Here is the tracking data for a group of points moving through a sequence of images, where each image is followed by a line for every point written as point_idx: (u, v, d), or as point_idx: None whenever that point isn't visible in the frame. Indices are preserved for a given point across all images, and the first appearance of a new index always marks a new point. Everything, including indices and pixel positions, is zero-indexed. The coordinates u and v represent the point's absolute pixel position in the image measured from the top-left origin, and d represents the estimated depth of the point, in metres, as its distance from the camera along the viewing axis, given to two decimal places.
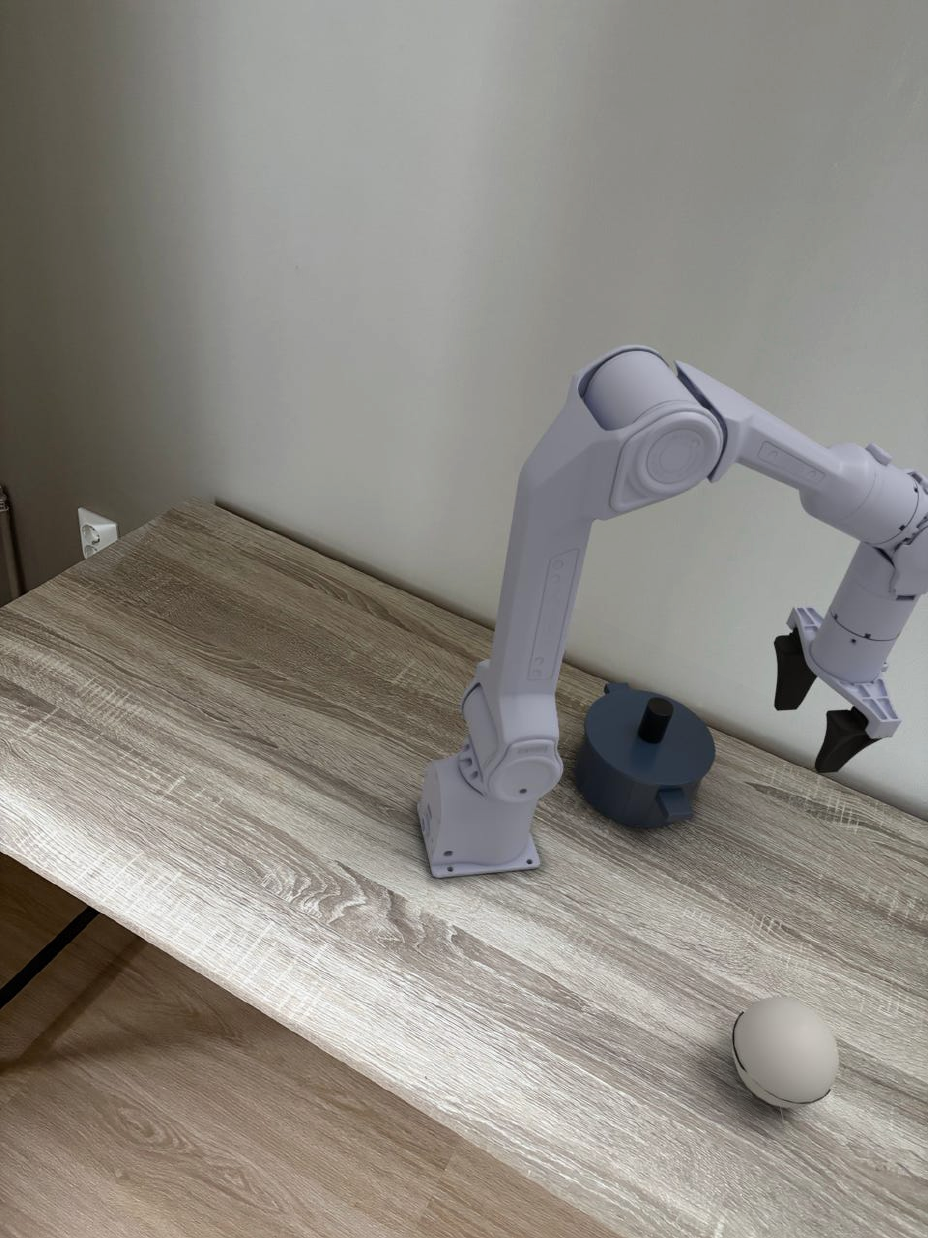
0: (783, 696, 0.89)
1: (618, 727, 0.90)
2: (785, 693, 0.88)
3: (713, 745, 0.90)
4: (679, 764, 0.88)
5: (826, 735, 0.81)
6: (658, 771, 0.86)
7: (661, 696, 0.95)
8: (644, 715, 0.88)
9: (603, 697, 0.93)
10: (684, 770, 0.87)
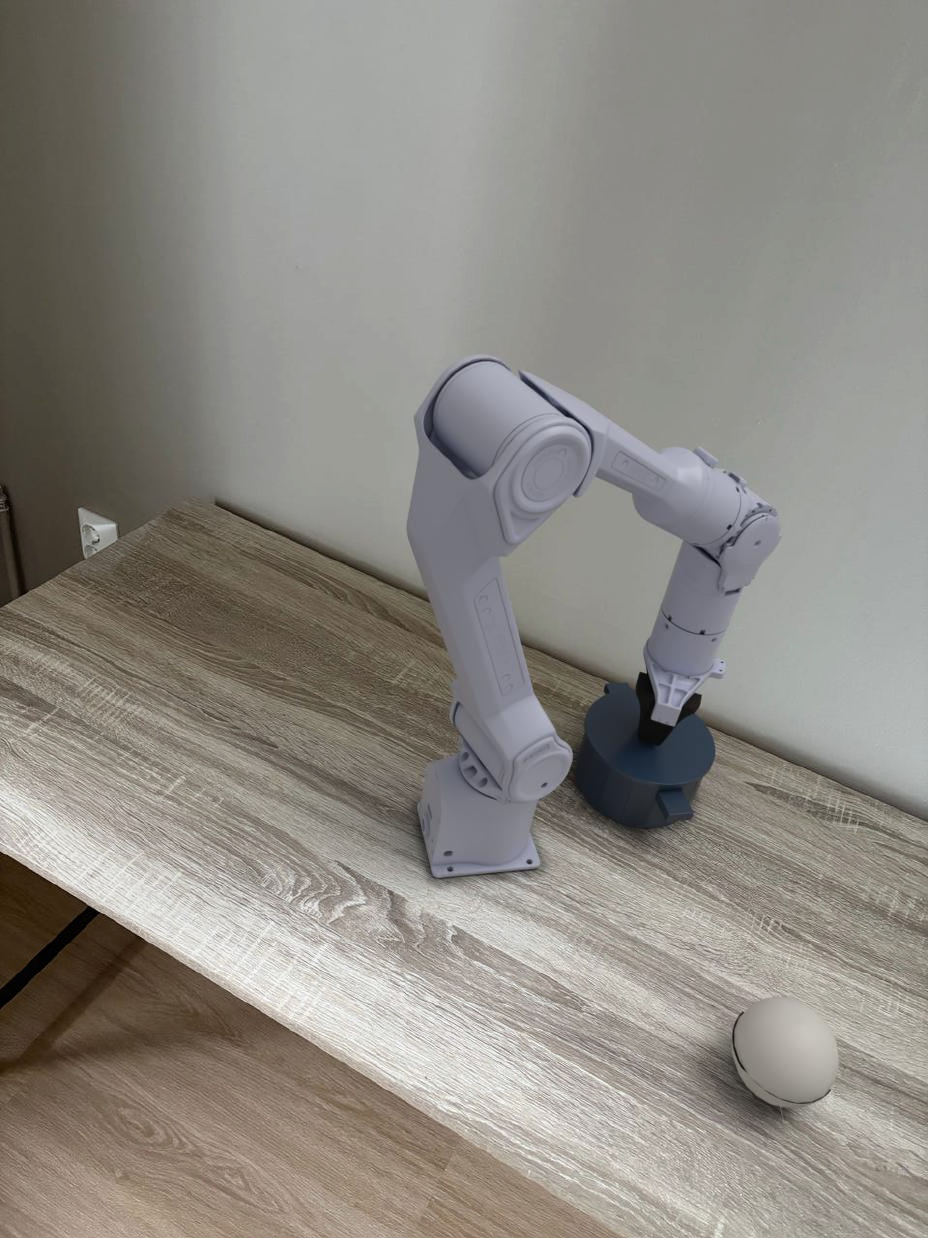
0: None
1: (618, 727, 0.90)
2: None
3: (713, 745, 0.90)
4: (679, 764, 0.88)
5: None
6: (658, 770, 0.86)
7: None
8: None
9: (603, 697, 0.93)
10: (684, 770, 0.87)
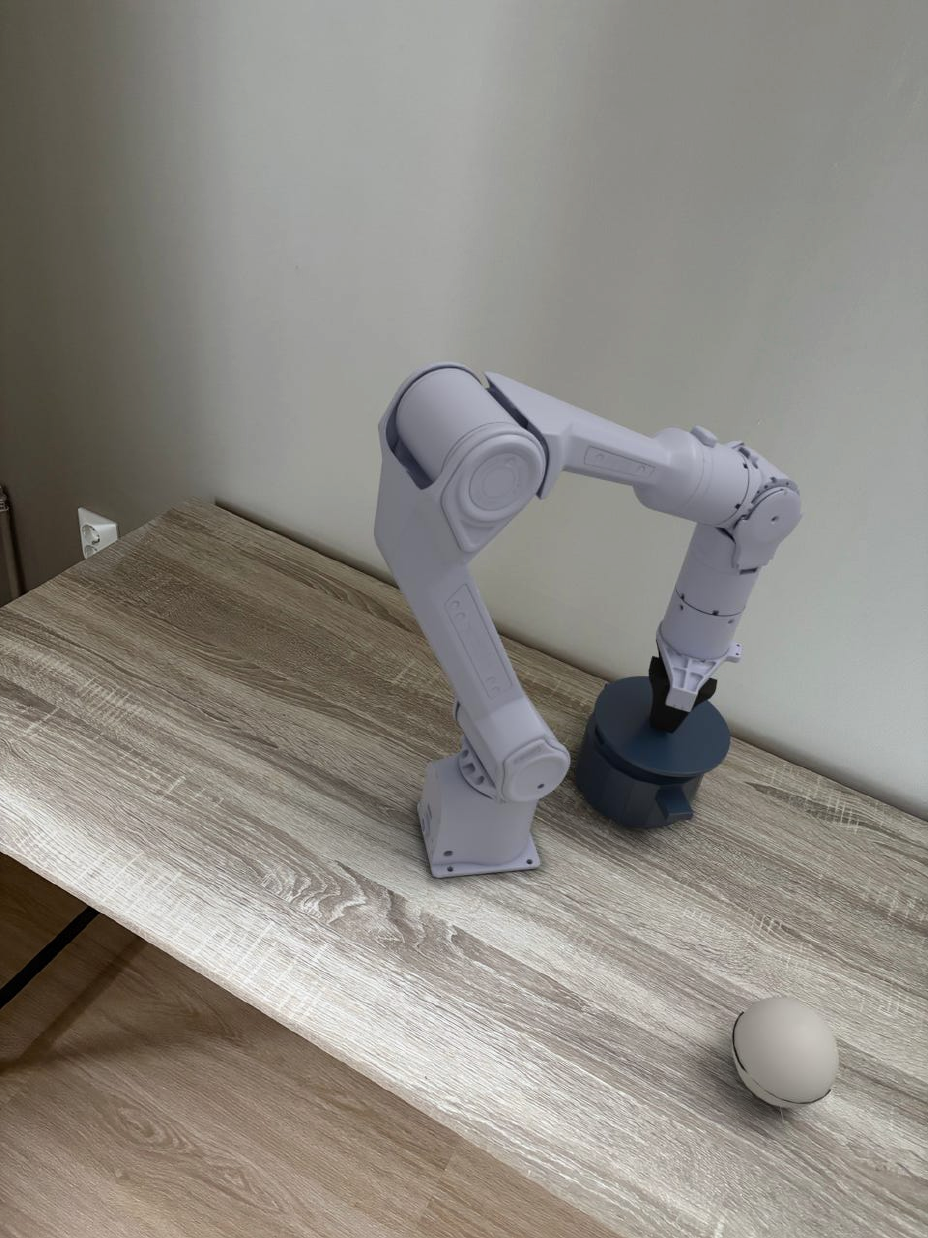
0: None
1: (629, 714, 0.87)
2: None
3: (728, 733, 0.87)
4: (693, 752, 0.84)
5: None
6: (671, 759, 0.83)
7: None
8: None
9: (613, 684, 0.90)
10: (698, 758, 0.84)
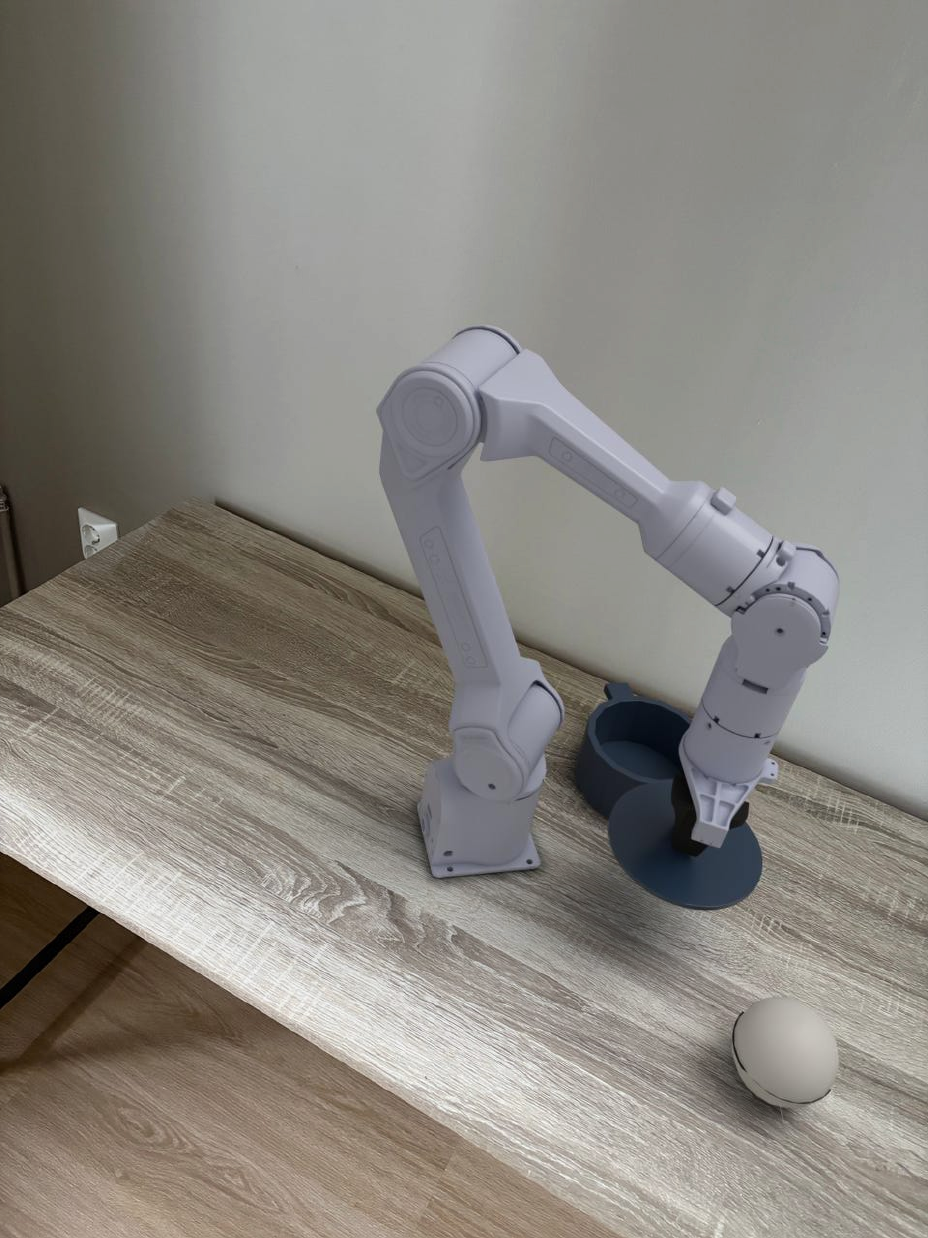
0: None
1: (648, 832, 0.77)
2: None
3: (760, 853, 0.77)
4: (721, 879, 0.74)
5: None
6: (696, 889, 0.73)
7: None
8: None
9: (629, 793, 0.80)
10: (727, 887, 0.73)
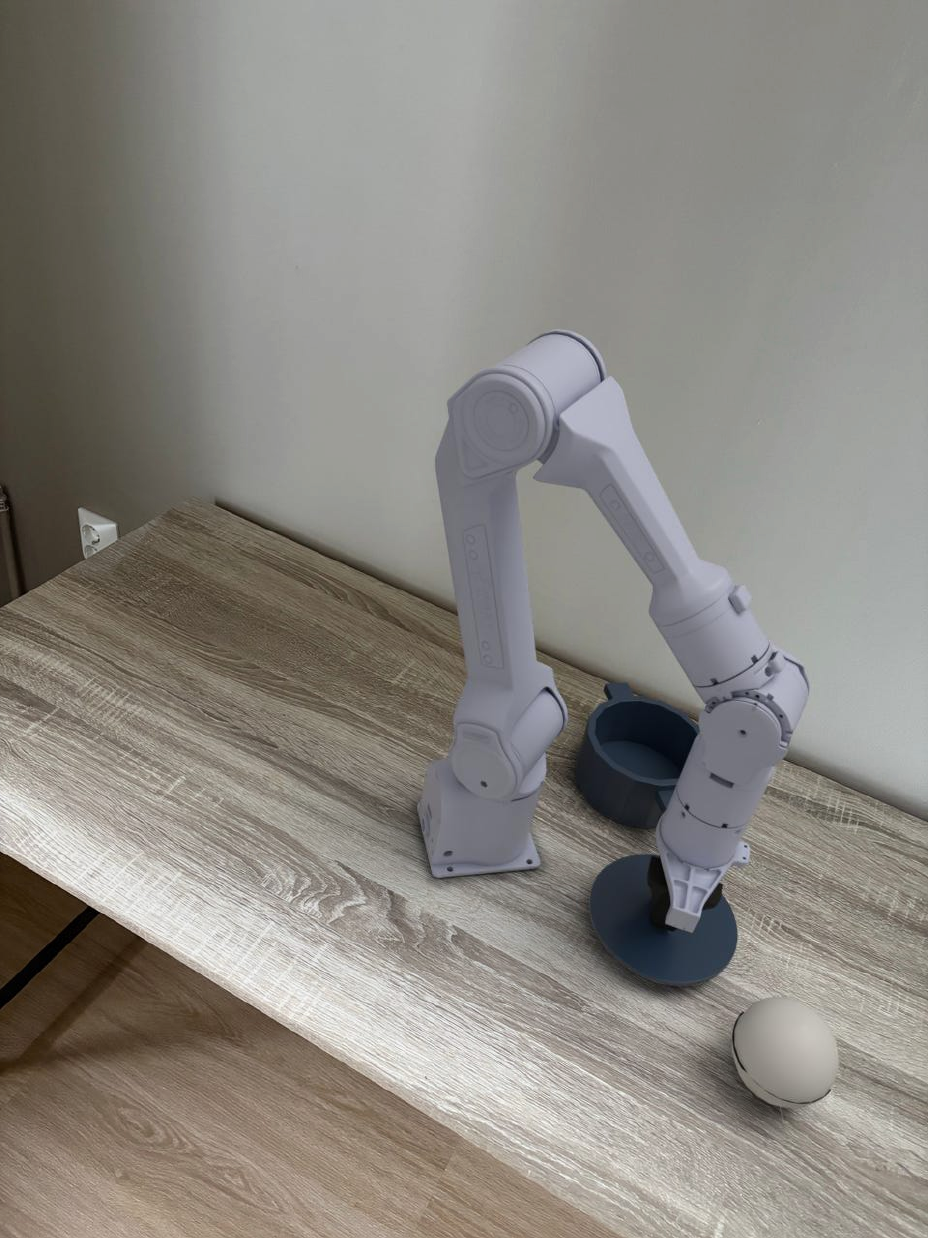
0: None
1: (627, 906, 0.80)
2: None
3: (735, 927, 0.80)
4: (697, 954, 0.77)
5: None
6: (673, 964, 0.76)
7: None
8: None
9: (610, 866, 0.83)
10: (703, 962, 0.77)
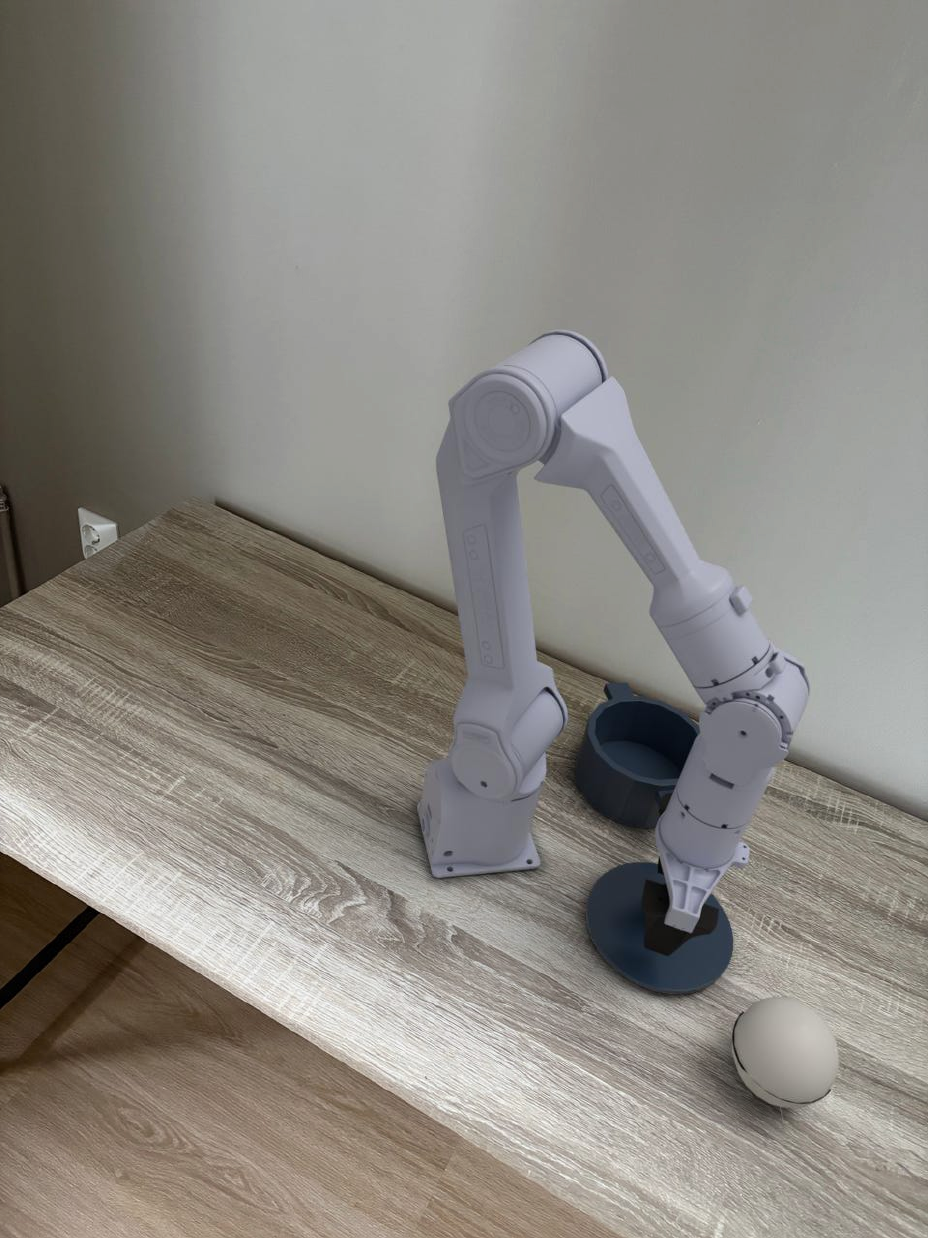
0: None
1: (624, 914, 0.80)
2: None
3: (731, 935, 0.80)
4: (693, 962, 0.78)
5: None
6: (669, 972, 0.77)
7: None
8: None
9: (607, 874, 0.83)
10: (698, 970, 0.77)
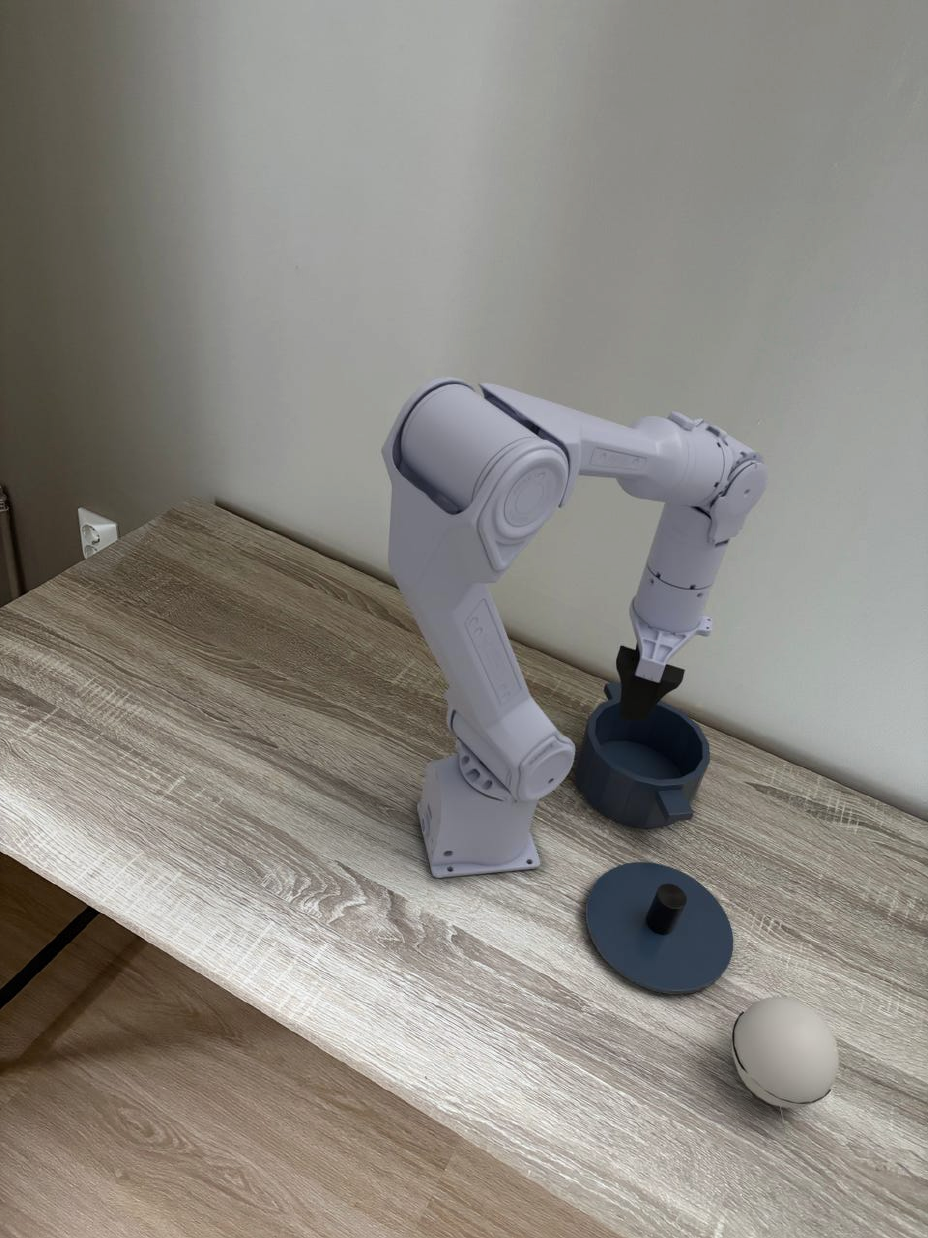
0: None
1: (624, 914, 0.80)
2: None
3: (731, 935, 0.80)
4: (693, 962, 0.78)
5: None
6: (669, 972, 0.77)
7: (671, 870, 0.85)
8: (653, 905, 0.79)
9: (607, 874, 0.83)
10: (698, 970, 0.77)
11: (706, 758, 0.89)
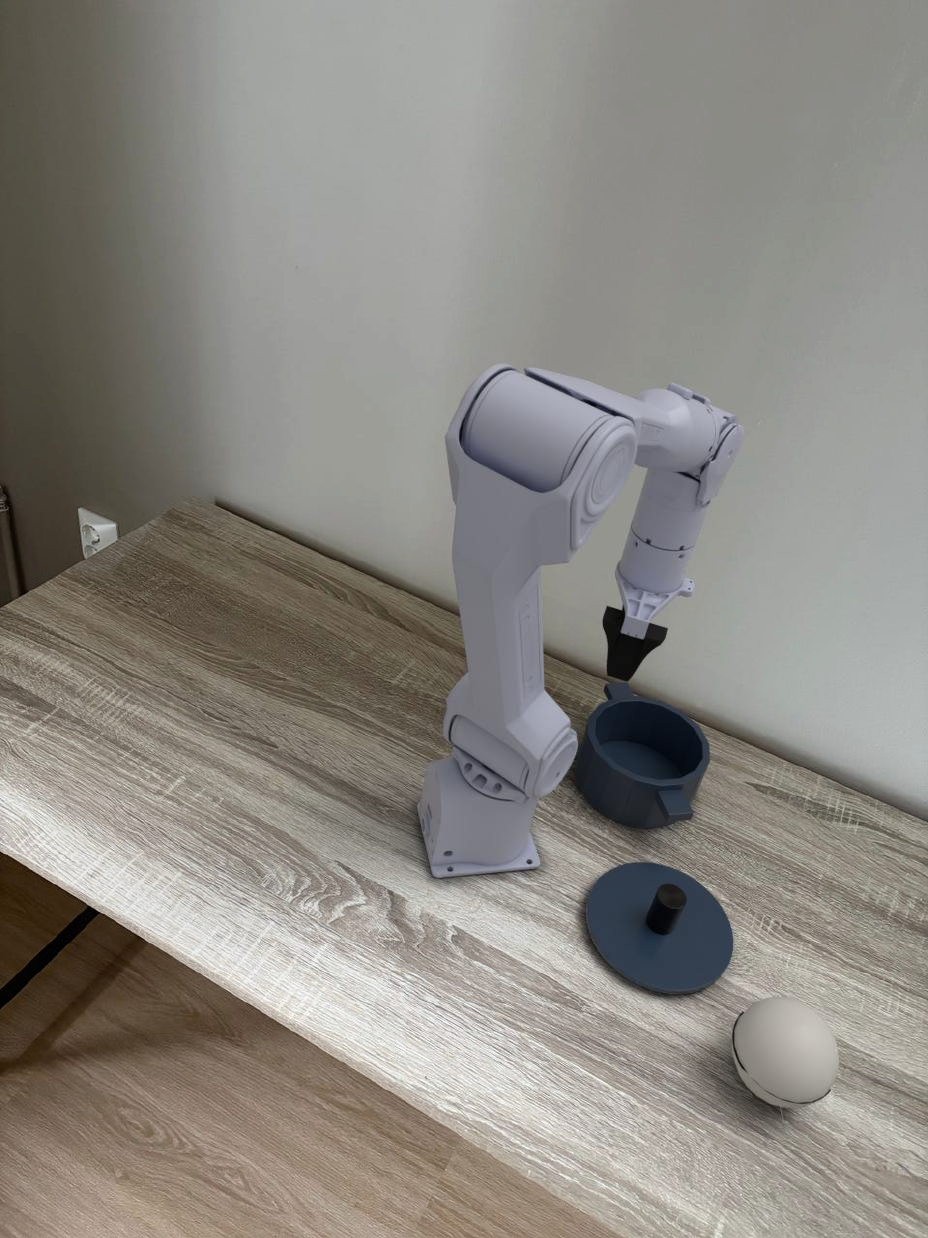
0: None
1: (624, 914, 0.80)
2: None
3: (731, 935, 0.80)
4: (693, 962, 0.78)
5: None
6: (669, 972, 0.77)
7: (671, 870, 0.85)
8: (653, 905, 0.79)
9: (607, 874, 0.83)
10: (698, 970, 0.77)
11: (706, 758, 0.89)
